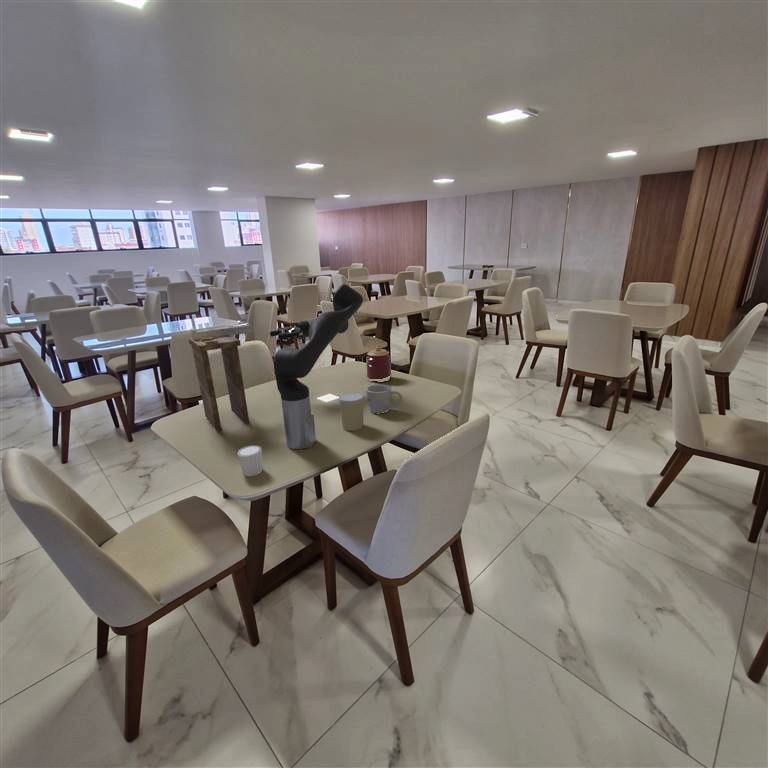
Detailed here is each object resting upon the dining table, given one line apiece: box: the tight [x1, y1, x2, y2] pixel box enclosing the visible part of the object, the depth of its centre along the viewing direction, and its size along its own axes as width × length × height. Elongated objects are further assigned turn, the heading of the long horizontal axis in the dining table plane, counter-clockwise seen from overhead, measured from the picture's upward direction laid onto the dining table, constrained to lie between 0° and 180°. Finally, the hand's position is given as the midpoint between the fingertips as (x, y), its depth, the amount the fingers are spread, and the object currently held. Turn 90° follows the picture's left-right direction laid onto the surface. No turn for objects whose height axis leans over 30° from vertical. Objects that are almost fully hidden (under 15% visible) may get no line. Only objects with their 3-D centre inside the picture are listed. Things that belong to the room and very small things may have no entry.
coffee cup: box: [337, 392, 365, 432], centre depth 140 cm, size 9×9×12 cm
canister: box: [365, 346, 392, 379], centre depth 196 cm, size 13×13×18 cm
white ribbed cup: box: [237, 445, 263, 477], centre depth 113 cm, size 7×7×7 cm
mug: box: [365, 383, 403, 414], centre depth 154 cm, size 10×15×10 cm
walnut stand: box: [188, 335, 250, 432], centre depth 148 cm, size 14×20×34 cm
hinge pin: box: [190, 324, 253, 340], centre depth 149 cm, size 22×4×4 cm, turn 126°
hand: (274, 335), depth 162 cm, fingers open, 8 cm apart
